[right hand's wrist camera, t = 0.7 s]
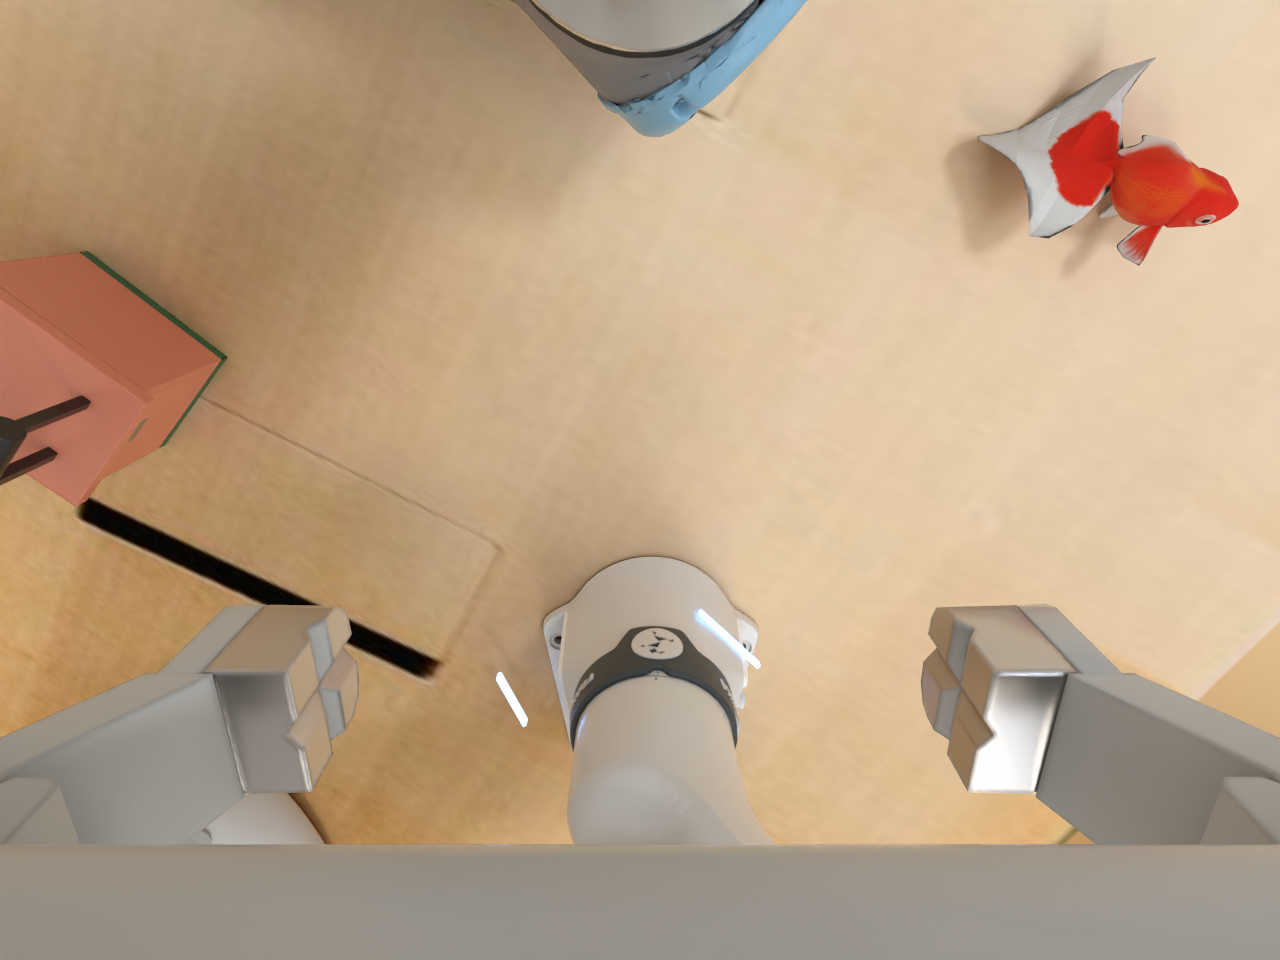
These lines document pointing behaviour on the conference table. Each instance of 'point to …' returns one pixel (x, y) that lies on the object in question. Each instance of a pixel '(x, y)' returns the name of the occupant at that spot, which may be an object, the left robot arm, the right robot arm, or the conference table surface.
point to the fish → (1109, 169)
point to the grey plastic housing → (260, 823)
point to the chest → (119, 337)
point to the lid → (59, 406)
